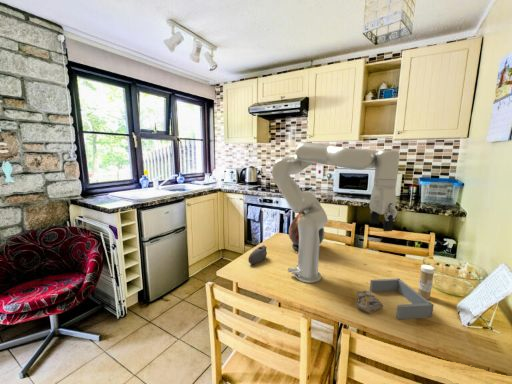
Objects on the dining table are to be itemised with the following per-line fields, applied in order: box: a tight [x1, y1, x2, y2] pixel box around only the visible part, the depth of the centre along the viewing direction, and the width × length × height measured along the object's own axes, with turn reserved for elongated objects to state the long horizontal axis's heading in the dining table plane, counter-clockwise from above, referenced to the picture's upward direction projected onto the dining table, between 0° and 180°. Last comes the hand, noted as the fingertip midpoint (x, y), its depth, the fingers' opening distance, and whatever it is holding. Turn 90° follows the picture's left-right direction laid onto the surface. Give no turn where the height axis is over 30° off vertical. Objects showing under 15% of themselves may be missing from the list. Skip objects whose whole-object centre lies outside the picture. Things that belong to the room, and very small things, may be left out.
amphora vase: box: [288, 211, 325, 253], centre depth 147 cm, size 22×22×28 cm
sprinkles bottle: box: [417, 264, 436, 300], centre depth 100 cm, size 5×5×14 cm
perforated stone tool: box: [248, 245, 268, 265], centre depth 131 cm, size 15×5×7 cm, turn 141°
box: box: [369, 278, 435, 320], centre depth 96 cm, size 13×18×5 cm
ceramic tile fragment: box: [356, 290, 384, 314], centre depth 95 cm, size 12×3×10 cm
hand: (380, 226), depth 93 cm, fingers open, 9 cm apart
